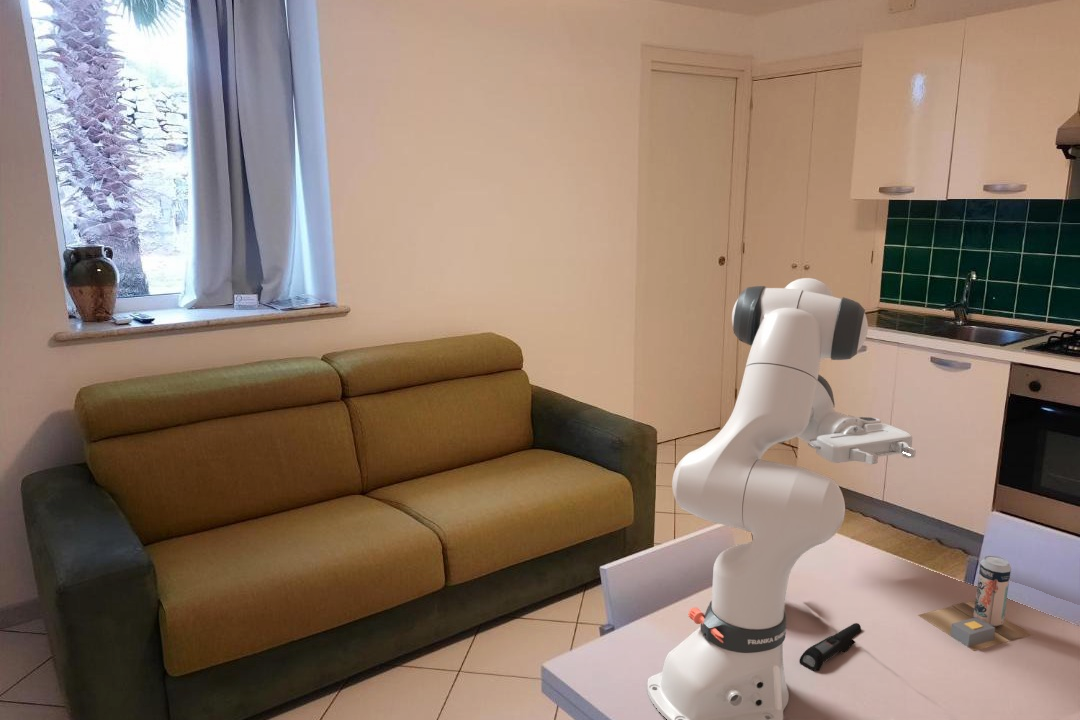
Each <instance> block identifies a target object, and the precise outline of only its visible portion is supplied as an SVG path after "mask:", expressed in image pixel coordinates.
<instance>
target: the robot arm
mask: <svg viewBox="0 0 1080 720" xmlns="http://www.w3.org/2000/svg"><path fill="white" fill-rule="evenodd" d="M731 311H732V312H731V324H732V329H733V334H734V335H735V337H736V338H737V339H738V340H739V341H740V342H742V343H744V344H745V345H748V346H751V347H750V351H749V353H748V356H747V360H746V364H745V368H744V371H743V377H742V380H741V386H740V387H739V392H738V394H737V399H736V402H735V405H734V408H733V410H732V412H731V415H730V416H729V418H728V419H727V421H726V423H725V425H724V426H723V427H722V428H721V429H720V431H719V432H718V433H717V434H716V435H715V436H714V437H713V438H712V439H710V440H709V441H708V442H706V443H705V444H704V445H702V446H700V447H699V448H697V449H694V450H691V451H690V452H688V453H687V454H686V455H684V456H683V457H682V459H681V460H679V461H678V463H677V465H676V467H675V469H674V472H673V475H672V480H671V481H672V482H671V488H672V494H673V496H674V497H673V498H674V500H675V502H676V504H677V505H678V507H679V508H680V509H681V510H683V511H684V512H687V513H688V514H692V515H693V516H695V517H698V518H700V519H702V520H705V521H707V522H712V523H715V524H719V525H724V526H727V527H731V528H735V529H739V530H744V531H746V532H748V533H750V534H752V541H749V542H745V543H744V542H743V543H740V544H736V545H733V546H731V547H727V548H726V549H724V550H723V551H722V552H720V553H719V554H718V556H717V557H716V559H715V561H714V564H713V568H712V569H713V570H712V571H713V572H712V588H711V589H712V590H711V591H712V592H711V600H710V602H709V604H708V605H707V608H706V610H705V613H704V612H702V611H701V610H700V608H698V607H696V606H695V607H692V608H690V610H689V611H688V618H689V619H691V621H693V622H694V624H696V625H700V626H699V627H698V628H697V629H695V631H693V632H692V633H690V635H689V636H687V637H686V638H685V639H684V640H683V641H681V642H680V643H679V644H677V645H676V646H675V647H674V648H673V649H672V650H670V651H669V652H668V653H667V655H666V657H665V659H664V662H663V667H662V671H660V672H658V673H656V674H654V675H651V676H650V677H648V679H647V685H646V689H647V690H648V691H647V694H648V697H649V700H650V701H651V703H652V705H653V704H654V705H653V706H654V708H655V709H656V708H657V709H656V710H657V712H658V713H659V712H660V713H661V714H662V715H663V716H664V717H665V718H666V719H667V720H784V710H785V709H786V707H787V705H788V703H789V699H790V696H789V695H790V694H789V689H788V686H787V682H786V676H785V668H784V655H783V654H784V653H783V645H784V642H785V639H786V633H787V632H786V631H787V614H786V611H785V607H786V605H785V604H786V603H785V602H786V598H787V597H786V596H787V590H788V584H789V578H790V574H791V572H792V569H793V568H794V566H795V565H796V563H797V561H798V560H799V559H800V558H801V557H802V556H803V555H804V554H805V553H806V552H808V551H810V549H811V550H812V549H813V548H815V547H817V546H819V545H822V544H825V543H826V542H828V541H829V540H831V539H833V537H834V536H836V534H837V533H838V531H840V528H841V527H842V524H843V522H844V519H845V515H846V505H845V499H844V496H843V491H842V490H841V488H840V487H839V485H838V483H837V482H836V481H835V479H833V478H831V477H828V476H826V475H823V474H822V473H821V474H820V473H818V472H816V471H813V470H810V469H807V468H805V467H800V466H796V465H790V464H785V463H781V462H780V463H779V462H775V461H769V460H764V459H762V457H763V455H764V454H765V453H766V452H767V451H768V449H770V448H771V447H773V446H775V445H776V444H785V442H787V441H789V440H792V439H795V438H798V439H799V440H801V441H803V442H805V443H807V445H808V446H809V448H812V449H814V450H815V452H816V454H817V455H819V456H820V457H822V458H823V459H824V460H827V461H829V463H834V464H835V463H836V464H842V463H847V462H860V463H865V464H868V465H875V464H878V459H879V457H886V456H891V455H892V456H893V455H898V454H901V455H902V457H904V458H906V459H911V458H912V459H913V458H914V459H915V458H916V449H915V448H913V446H912V445H913V436H912V435H911V434H910V433H909V432H907V431H905V430H903V429H901V428H898V427H896V426H893V425H891V424H887V423H882V420H881V419H880V418H877V417H863V416H854V415H850V414H848V415H846V414H845V413H842V412H839V411H838V412H837V411H836V410H835V409H834V408H835V398H834V394H833V389H832V387H831V385H830V384H829V381H827V380H826V378H825V377H823V376H822V375H820V374H819V373H820V367H821V366H820V365H821V362H823V360H824V359H826V358H827V359H828V358H829V359H831V361H847V360H851V359H852V358H854V357H855V356H856V355H857V354H858V351H859V350H860V349H861V348H862V346H863V345H864V343H865V341H866V340H867V335H868V330H869V324H868V323H869V322H868V319H867V315H866V309H865V308H864V307H863V306H862V304H860V302H858V301H855V300H853V299H850V298H848V297H844V296H843V297H842V298H839V297H836V296H834V295H833V292H832V290H831V289H830V287H828V285H827V284H826V283H824V282H823V281H820V280H818V279H816V278H812V277H804V278H803V277H802V278H797V279H795V280H793V281H791V282H789V283H788V284H787V285H786V286H785V287H766V286H765V285H760V286H759V285H756V286H749V287H747V288H745V289H744V290H742V291H741V292H740V294H739V295H738V298H737V300H736V301H735V303H734V306H733V308H732V310H731ZM660 713H659V714H660ZM661 714H660V715H661ZM662 715H661V716H662ZM663 716H662V717H663ZM664 717H663V718H664ZM665 718H664V719H665ZM666 719H665V720H666Z"/></svg>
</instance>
